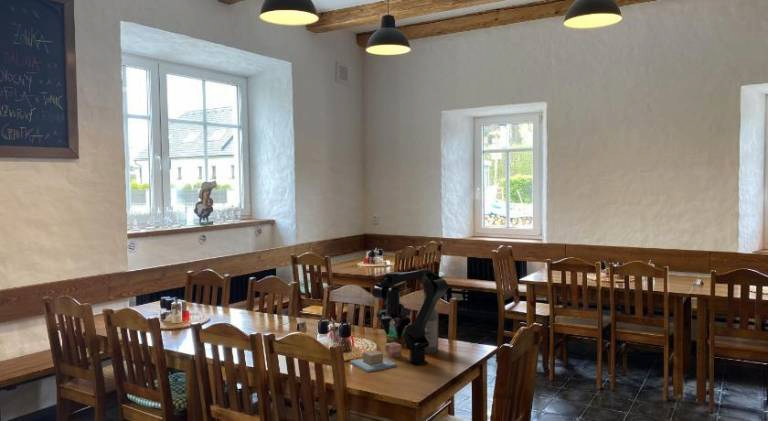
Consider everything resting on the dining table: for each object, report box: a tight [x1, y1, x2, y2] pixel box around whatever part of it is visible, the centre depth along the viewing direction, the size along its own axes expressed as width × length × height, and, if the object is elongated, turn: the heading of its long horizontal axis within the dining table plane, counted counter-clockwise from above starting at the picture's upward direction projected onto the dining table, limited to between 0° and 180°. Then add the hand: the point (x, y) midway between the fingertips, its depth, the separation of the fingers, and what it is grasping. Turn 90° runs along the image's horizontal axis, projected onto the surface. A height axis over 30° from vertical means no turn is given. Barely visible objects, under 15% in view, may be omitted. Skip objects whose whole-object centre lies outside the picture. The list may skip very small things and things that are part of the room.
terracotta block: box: [384, 342, 402, 359], centre depth 264 cm, size 5×5×5 cm
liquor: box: [415, 285, 439, 354], centre depth 270 cm, size 9×9×30 cm
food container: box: [385, 321, 407, 345], centre depth 283 cm, size 12×6×10 cm, turn 62°
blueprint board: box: [349, 349, 397, 373], centre depth 251 cm, size 14×14×5 cm
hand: (393, 336), depth 263 cm, fingers open, 9 cm apart
